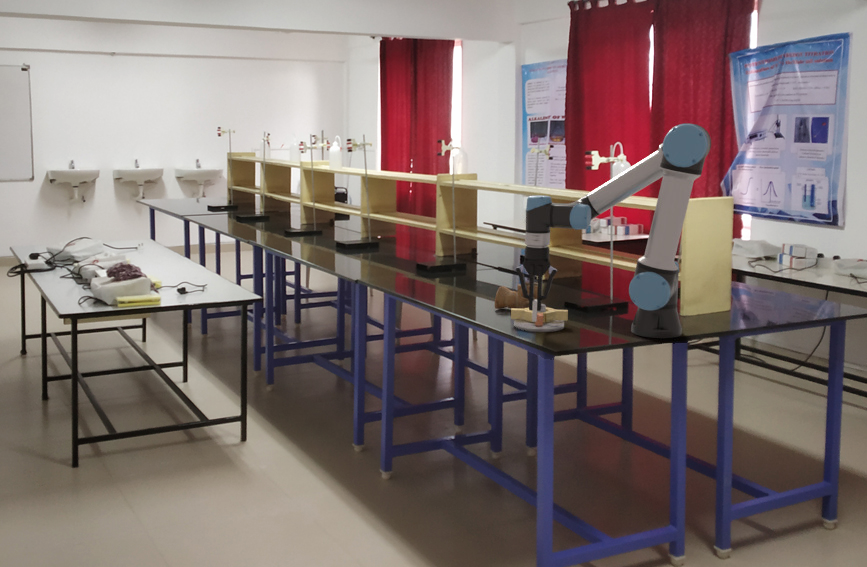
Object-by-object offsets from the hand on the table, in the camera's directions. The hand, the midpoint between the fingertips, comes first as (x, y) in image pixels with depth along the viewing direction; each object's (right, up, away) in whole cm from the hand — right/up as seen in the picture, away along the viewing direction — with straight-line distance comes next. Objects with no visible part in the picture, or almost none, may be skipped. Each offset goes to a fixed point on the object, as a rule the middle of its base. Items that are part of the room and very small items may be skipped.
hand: (534, 320), depth 266 cm
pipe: (-2, +2, +31) cm, 32 cm away
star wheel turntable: (+2, -2, +8) cm, 9 cm away
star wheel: (+2, 0, +8) cm, 8 cm away
